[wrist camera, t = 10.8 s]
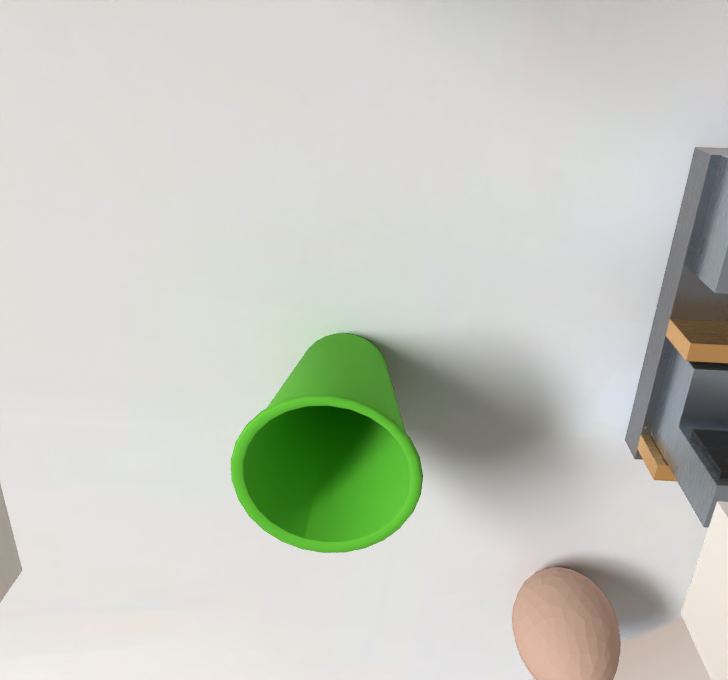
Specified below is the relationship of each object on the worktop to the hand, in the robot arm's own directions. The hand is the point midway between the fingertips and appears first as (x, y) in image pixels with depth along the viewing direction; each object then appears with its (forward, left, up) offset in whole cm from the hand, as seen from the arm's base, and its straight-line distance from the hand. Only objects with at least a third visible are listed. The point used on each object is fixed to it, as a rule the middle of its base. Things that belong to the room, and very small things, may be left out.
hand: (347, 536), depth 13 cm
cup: (+11, -2, -27) cm, 29 cm away
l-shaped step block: (+10, +19, -25) cm, 33 cm away
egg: (+27, +13, -27) cm, 40 cm away
